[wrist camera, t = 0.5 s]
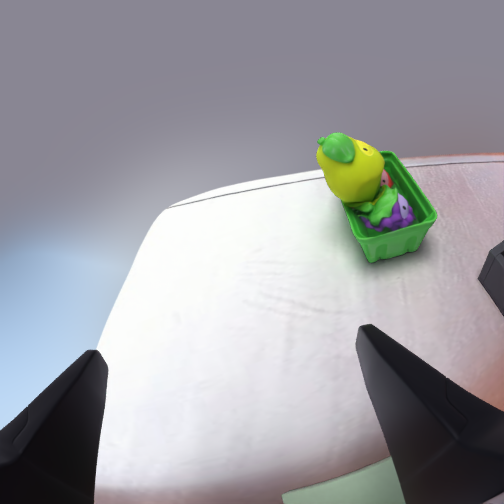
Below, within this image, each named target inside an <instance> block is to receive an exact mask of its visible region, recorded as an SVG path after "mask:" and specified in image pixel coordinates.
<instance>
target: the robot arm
mask: <svg viewBox="0 0 504 504" xmlns="http://www.w3.org/2000/svg"><path fill="white" fill-rule="evenodd" d="M356 351H357V354H358V358H359V362H360V366H361V369H362V373H363V377H364V381H365V385H366V388H367V391H368V394H369V396H370V399H371V401H372V404H373V407H374V409H375V412H376V415H377V418H378V420H379V423H380V426H381V429H382V432H383V434H384V437H385V440H386V443H387V446H388V449H389V452H390V455H391V458H392V461H393V464H394V467H395V470H396V473H397V476H398V480H399V483H400V486H401V490H402V493H403V496H404V500H405V503H406V504H504V412H503V411H501V410H499V409H497V408H496V407H494V406H492V405H490V404H488V403H487V402H485V401H483V400H481V399H479V398H478V397H476V396H474V395H473V394H471V393H469V392H468V391H466V390H464V389H463V388H462V387H460V386H459V385H457V384H456V383H454V382H453V381H451V380H450V379H449V378H446V376H444V375H443V374H441V373H440V372H439V371H437V370H436V369H434V368H433V367H432V366H430V365H429V364H427V363H426V362H425V361H423V360H422V359H420V358H419V357H418V356H416V355H415V354H413V353H412V352H411V351H409V350H408V349H406V348H405V347H404V346H402V345H401V344H399V343H398V342H396V341H395V340H394V339H392V338H391V337H389V336H388V335H387V334H385V333H384V332H382V331H381V330H379V329H378V328H377V327H375V326H374V325H372V324H367V325H362V326H360V327H359V329H358V334H357V339H356ZM107 378H108V366H107V364H106V362H105V360H104V359H103V357H102V356H101V354H100V352H99V351H98V350H87V351H86V352H85V353H84V354H82V355H81V356H80V357H79V358H78V359H77V360H76V361H75V362H74V363H73V364H71V365H70V366H69V367H68V368H67V369H66V370H65V371H64V372H63V373H62V374H61V375H60V376H59V377H58V378H56V379H55V380H54V381H53V382H52V383H51V384H50V385H49V386H48V387H47V388H46V389H45V390H44V391H43V392H42V393H40V394H39V396H38V397H36V398H35V399H34V400H33V401H32V402H31V403H30V404H29V405H28V407H26V408H25V409H24V410H23V411H22V412H21V413H20V414H19V415H18V416H17V417H16V418H15V419H14V420H12V421H11V422H10V423H9V424H8V425H6V426H5V427H4V428H3V429H2V430H0V504H94V490H95V477H96V466H97V457H98V449H99V441H100V434H101V427H102V421H103V415H104V409H105V401H106V389H107Z"/></svg>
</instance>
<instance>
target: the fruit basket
mask: <svg viewBox="0 0 504 504" xmlns="http://www.w3.org/2000/svg"><path fill="white" fill-rule="evenodd" d="M317 142H318V144H320V146H319V148H318V151H317V155H316V157H317V161H318V164H319V165H320V167H321V168H322V170H323V172H324V176H325V179H326V182H327V184H328V186H329V188H330V190H331V191H332V192H333V193H334V194H335V195H336V196H337V197H338V198H340V199H341V201H342V204H343V206H344V209H345V212H346V214H347V217H348V220H349V223H350V226H351V228H352V231H353V234H354V236H355V238H356V239H357V241H358V242H359V243H360V245H361V247H362V249H363V251H364V253H365V256H366V258H367V260H368V262H369V263H373V262H376V261H377V260H379V259H388V258H392V257H396V256H399V255H403V254H404V253H406V252H407V251H408V252H414V251H416V250H417V249H418V247H419V245H420V244H421V242H422V240H423V238H424V237H425V235H426V233H427V231H428V229H429V228H430V227H431V226H432V225H433V223H434V222H435V220H436V219H437V213H436V211H435V209H434V208H433V206H432V205H431V203H430V202H429V200H428V199H427V197H426V196H425V195H424V193H423V192H422V190H421V189H420V187H419V186H418V185H417V183H416V182H415V180H414V179H413V177H412V176H411V175H410V173H409V172H408V171H407V169H406V168H405V167H404V166H403V164H402V163H401V162H400V160H399V159H398V157H397V156H396V155H395V154H394V153H393V152H390V151H380V152H378V151H377V150H376V149H375V148H374V147H372V146H370V145H368V144H366V143H364V142H362V141H359V140H354V139H353V138H351V137H348V136H346V135H345V134H342V133H332V134H330V135H329V136H328V137H327V138H326V139H325V138H323V137H321V138H320V139H319V140H318V141H317Z"/></svg>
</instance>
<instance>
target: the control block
mask: <svg viewBox="0 0 504 504" xmlns="http://www.w3.org/2000/svg"><path fill="white" fill-rule="evenodd" d="M282 499H283V502H284V504H406V503H405V500H404V496H403V493H402V490H401V486H400V483H399V480H398V476H397V473H396V470H395V467H394V464H393V461H392V458H391V456H389V457H387V458H385V459H383V460H381V461H378V462H376V463H374V464H371V465H369V466H366V467H364V468H361V469H359V470H356V471H354V472H351V473H348V474H345V475H342V476H340V477H337V478H334V479H330V480H327V481H324V482H321V483H317V484H314V485H310V486H307V487H303V488H299V489H295V490H291V491H288V492H286V493H284V494H282Z"/></svg>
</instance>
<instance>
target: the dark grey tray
mask: <svg viewBox="0 0 504 504" xmlns="http://www.w3.org/2000/svg"><path fill="white" fill-rule="evenodd" d="M478 279H479V280H480V282H481V283H482V285H483V286H484V287H485V289H486V290H487V292H488V293H489V294H490V296H491V297H492V299H493V300H494V302H495V303H496V305H497V306H498V308H499V309H500V311H501V312H502V314H503V315H504V241H502V242H501V243H500V244H498V245H497V246H496V247H494V248H493V249H491V250H490V251H489V254H488V256H487V259H486V261H485V264H484V266H483V268H482V270H481V273H480V275H479V277H478Z"/></svg>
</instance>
